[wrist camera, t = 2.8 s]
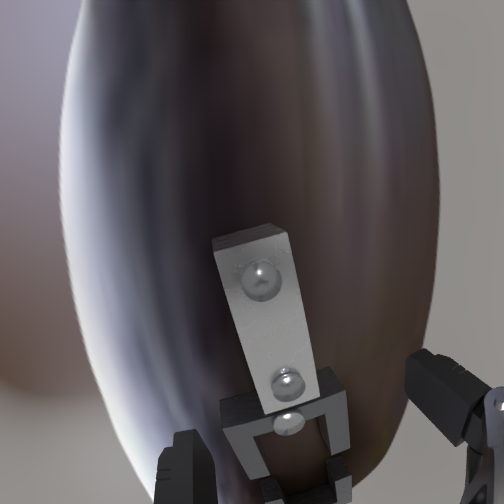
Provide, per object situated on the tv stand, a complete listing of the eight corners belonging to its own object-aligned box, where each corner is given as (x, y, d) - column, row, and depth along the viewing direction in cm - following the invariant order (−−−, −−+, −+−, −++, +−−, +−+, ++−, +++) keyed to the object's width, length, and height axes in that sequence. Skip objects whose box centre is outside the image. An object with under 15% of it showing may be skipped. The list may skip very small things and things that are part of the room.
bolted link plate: (211, 238, 17) (213, 255, 12) (268, 222, 17) (289, 233, 13) (254, 377, 19) (266, 420, 15) (301, 362, 19) (322, 401, 15)
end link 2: (342, 484, 24) (353, 505, 21) (273, 506, 23) (280, 529, 20) (340, 454, 22) (353, 479, 19) (259, 480, 22) (265, 507, 18)
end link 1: (218, 397, 19) (221, 432, 15) (328, 363, 20) (349, 392, 16) (245, 454, 21) (251, 485, 17) (337, 425, 21) (353, 452, 18)
